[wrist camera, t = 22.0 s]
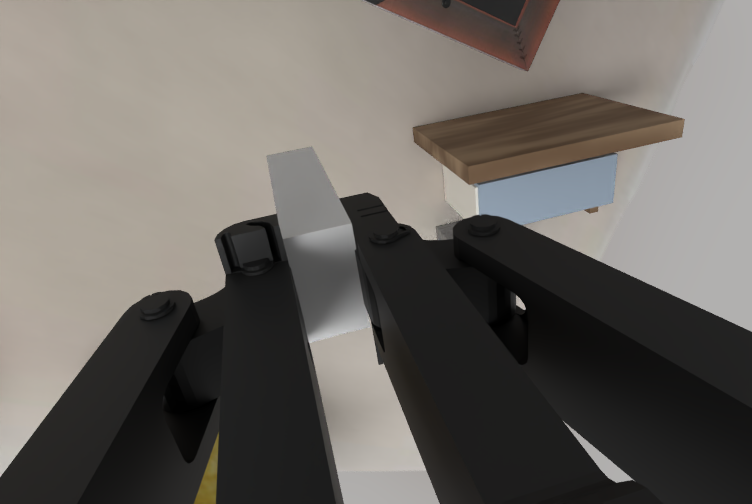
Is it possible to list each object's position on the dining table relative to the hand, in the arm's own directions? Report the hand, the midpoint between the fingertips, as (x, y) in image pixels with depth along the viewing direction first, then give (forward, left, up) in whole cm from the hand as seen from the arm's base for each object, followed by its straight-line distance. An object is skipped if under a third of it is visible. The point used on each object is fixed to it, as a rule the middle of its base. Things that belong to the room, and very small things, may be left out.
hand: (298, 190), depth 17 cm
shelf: (+14, +23, -32) cm, 42 cm away
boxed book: (+14, +23, -33) cm, 42 cm away
